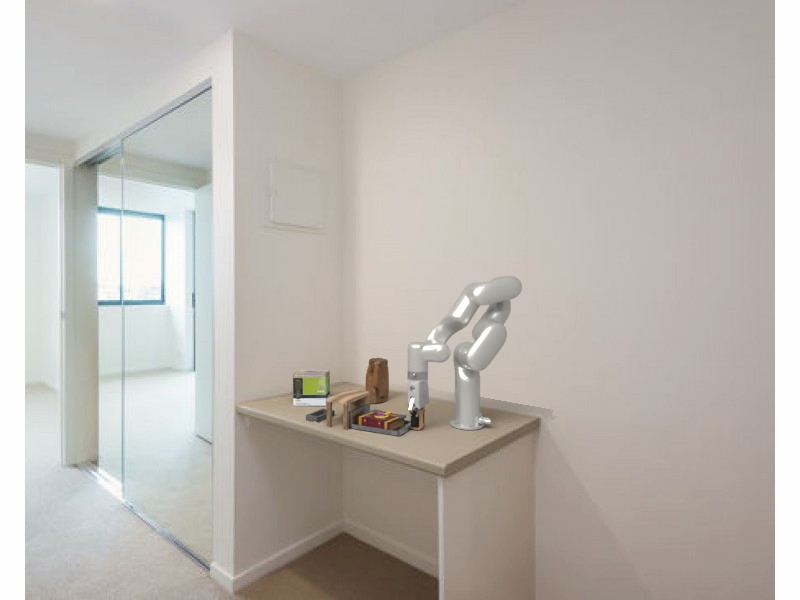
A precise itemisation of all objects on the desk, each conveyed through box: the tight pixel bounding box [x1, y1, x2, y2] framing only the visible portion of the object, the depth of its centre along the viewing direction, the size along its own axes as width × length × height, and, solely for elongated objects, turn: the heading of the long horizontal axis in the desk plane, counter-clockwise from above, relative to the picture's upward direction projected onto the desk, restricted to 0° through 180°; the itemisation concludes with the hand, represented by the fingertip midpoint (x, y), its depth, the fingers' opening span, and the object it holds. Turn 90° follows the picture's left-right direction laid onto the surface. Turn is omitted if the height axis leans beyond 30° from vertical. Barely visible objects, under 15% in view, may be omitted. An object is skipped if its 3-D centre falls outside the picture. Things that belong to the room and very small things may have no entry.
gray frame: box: [305, 408, 336, 423], centre depth 170 cm, size 6×11×2 cm, turn 154°
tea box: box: [292, 369, 331, 407], centre depth 192 cm, size 15×10×15 cm, turn 89°
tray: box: [349, 403, 424, 437], centre depth 157 cm, size 24×14×7 cm, turn 64°
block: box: [365, 357, 390, 404], centre depth 196 cm, size 11×8×20 cm
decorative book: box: [357, 409, 407, 431], centre depth 159 cm, size 11×16×5 cm
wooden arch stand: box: [326, 389, 371, 431], centre depth 164 cm, size 9×17×11 cm, turn 154°
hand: (417, 424), depth 156 cm, fingers closed on tray, 4 cm apart
